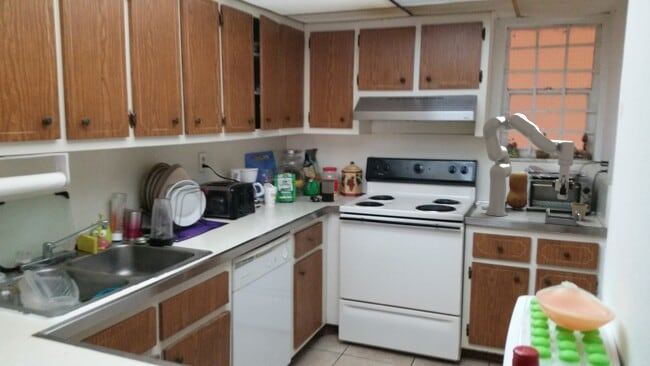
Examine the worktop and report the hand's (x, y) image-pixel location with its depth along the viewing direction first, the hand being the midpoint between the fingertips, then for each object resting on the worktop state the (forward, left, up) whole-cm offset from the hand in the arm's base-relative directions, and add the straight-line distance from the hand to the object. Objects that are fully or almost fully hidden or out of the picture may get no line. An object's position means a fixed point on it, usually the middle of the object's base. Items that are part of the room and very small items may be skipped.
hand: (563, 193), depth 293 cm
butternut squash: (-29, +33, -17) cm, 47 cm away
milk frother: (-151, -11, -17) cm, 152 cm away
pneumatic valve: (0, 0, -3) cm, 3 cm away
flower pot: (+8, +20, -17) cm, 27 cm away
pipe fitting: (0, 0, -17) cm, 17 cm away
